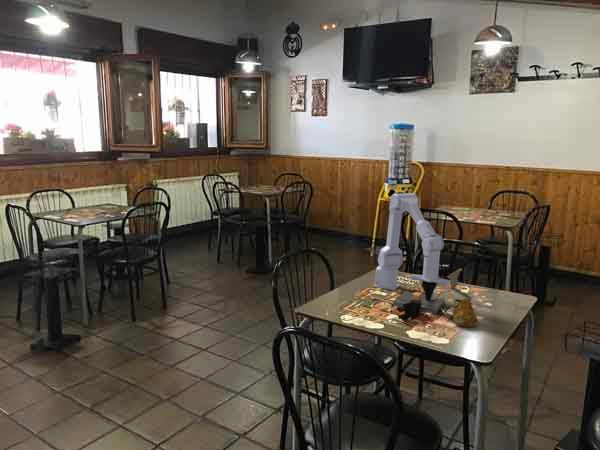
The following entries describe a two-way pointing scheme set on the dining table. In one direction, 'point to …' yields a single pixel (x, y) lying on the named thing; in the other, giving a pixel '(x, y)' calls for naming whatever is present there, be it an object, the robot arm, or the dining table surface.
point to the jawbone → (454, 283)
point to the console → (426, 306)
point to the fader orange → (417, 296)
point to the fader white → (434, 295)
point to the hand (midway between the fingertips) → (428, 300)
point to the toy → (410, 309)
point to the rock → (465, 314)
